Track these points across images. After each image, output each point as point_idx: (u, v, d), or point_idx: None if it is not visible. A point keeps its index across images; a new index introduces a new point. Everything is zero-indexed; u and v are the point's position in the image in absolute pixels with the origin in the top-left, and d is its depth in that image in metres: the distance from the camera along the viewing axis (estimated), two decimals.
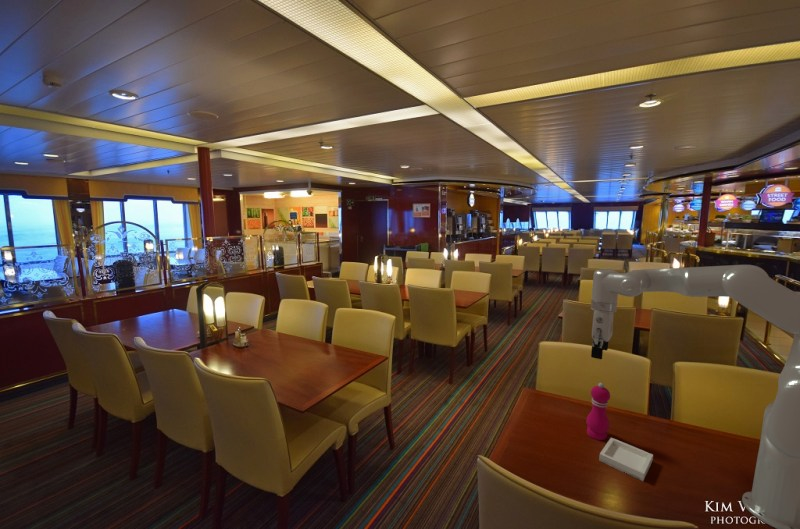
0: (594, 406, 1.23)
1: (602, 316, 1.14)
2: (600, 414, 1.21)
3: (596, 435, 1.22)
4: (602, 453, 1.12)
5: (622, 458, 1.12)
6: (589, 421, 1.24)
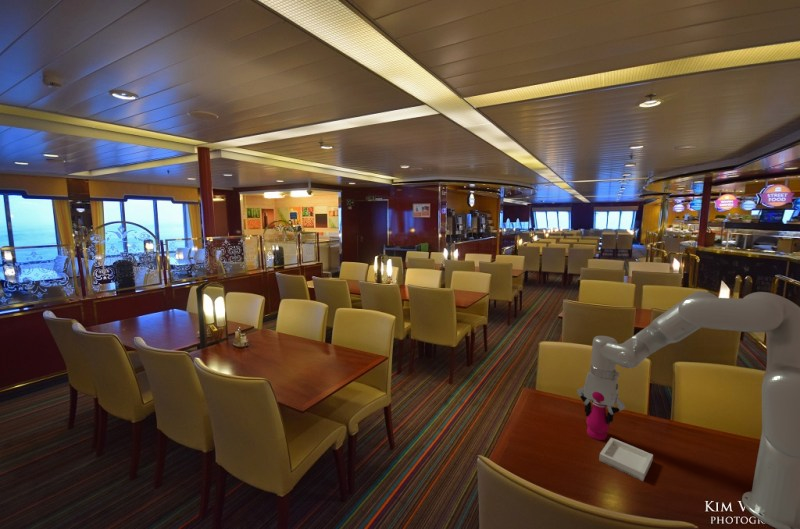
0: (594, 406, 1.23)
1: (617, 382, 1.19)
2: (600, 414, 1.21)
3: (596, 435, 1.22)
4: (602, 453, 1.12)
5: (622, 458, 1.12)
6: (589, 421, 1.24)
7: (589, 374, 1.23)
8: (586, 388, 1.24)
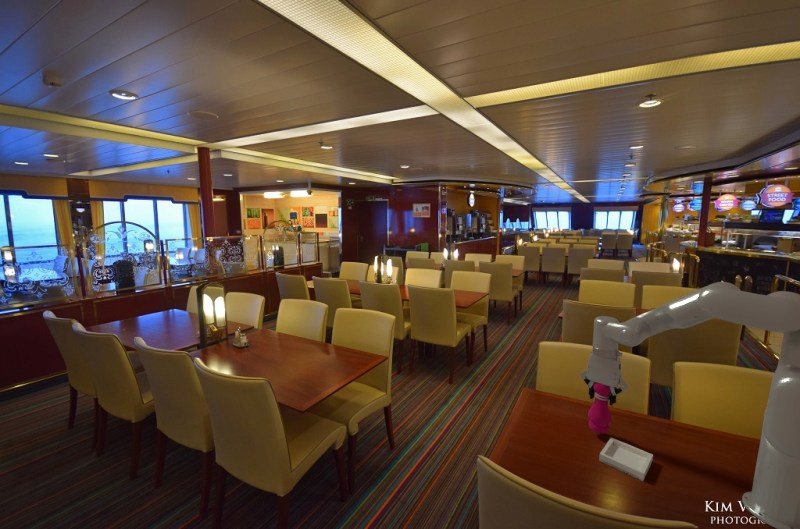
0: (596, 399, 1.22)
1: (620, 362, 1.18)
2: (603, 407, 1.21)
3: (598, 428, 1.22)
4: (602, 453, 1.12)
5: (622, 458, 1.12)
6: (591, 414, 1.23)
7: (591, 355, 1.21)
8: (589, 370, 1.22)
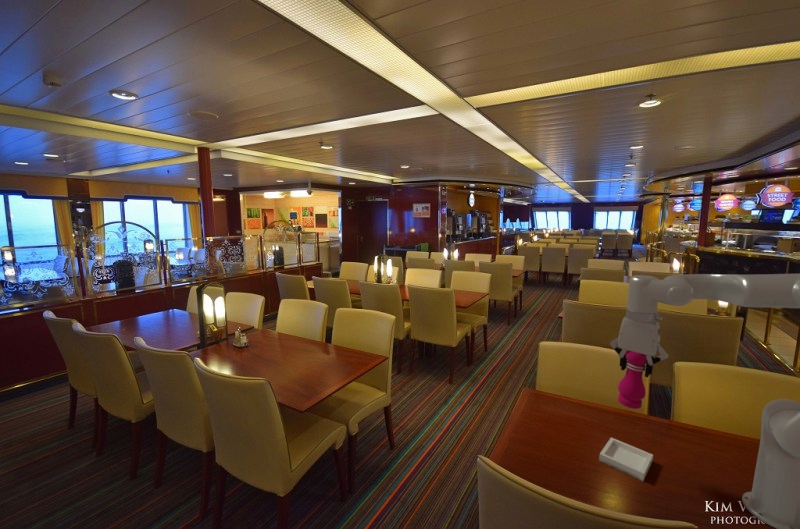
0: (629, 370, 1.07)
1: (659, 327, 1.02)
2: (636, 379, 1.05)
3: (630, 403, 1.06)
4: (602, 453, 1.12)
5: (622, 458, 1.12)
6: (621, 387, 1.08)
7: (625, 320, 1.06)
8: (621, 337, 1.07)
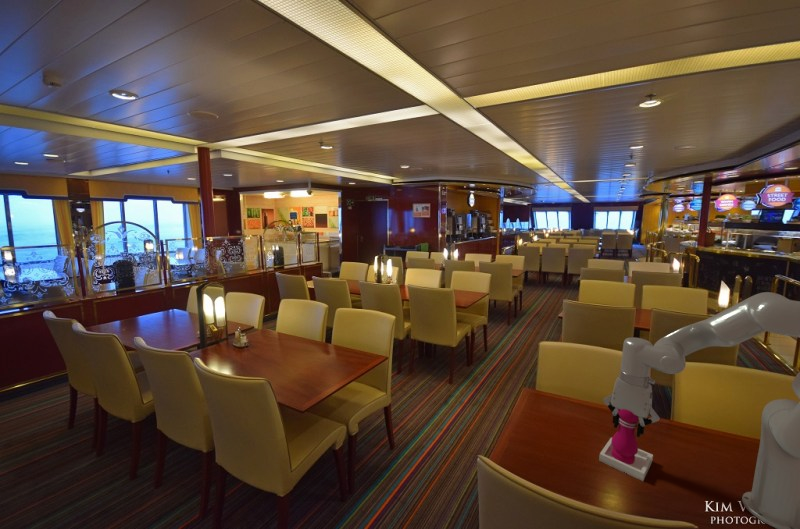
0: (621, 426, 1.10)
1: (651, 390, 1.05)
2: (629, 435, 1.08)
3: (623, 458, 1.09)
4: (602, 453, 1.12)
5: None
6: (615, 442, 1.11)
7: (618, 380, 1.09)
8: (614, 396, 1.10)
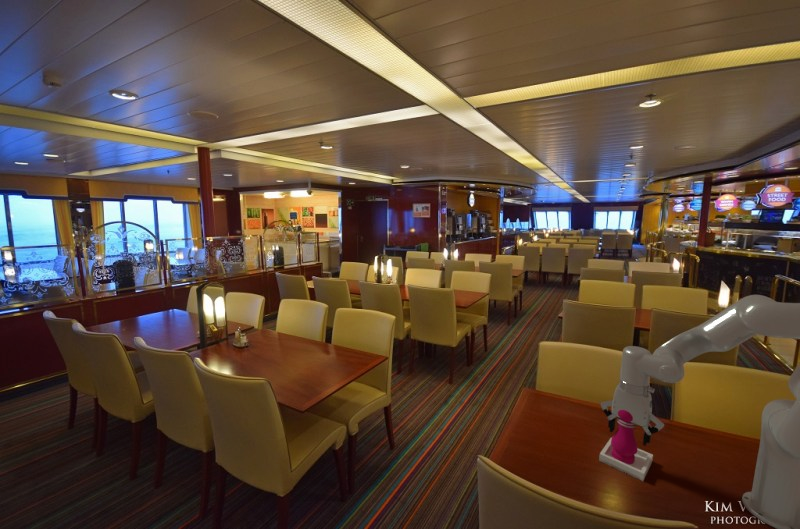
0: (620, 426, 1.10)
1: (651, 398, 1.05)
2: (628, 435, 1.09)
3: (623, 458, 1.09)
4: (602, 453, 1.12)
5: None
6: (614, 442, 1.11)
7: (618, 389, 1.09)
8: (614, 405, 1.10)
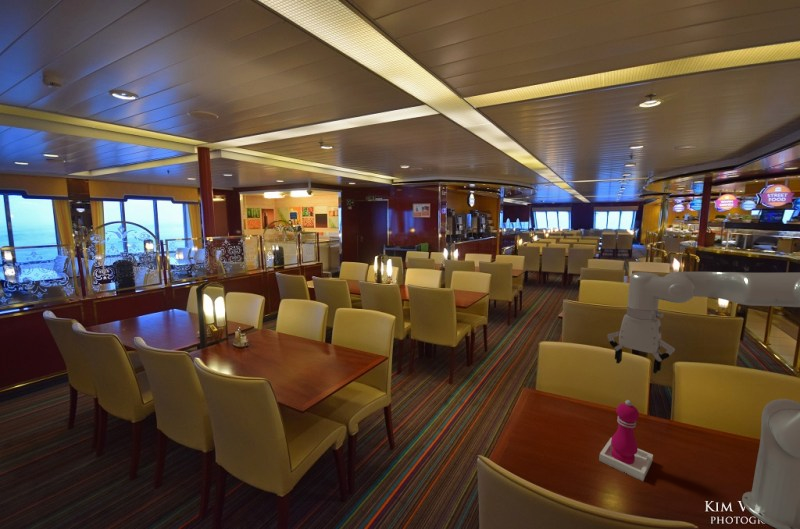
0: (620, 426, 1.10)
1: (660, 324, 1.02)
2: (628, 435, 1.09)
3: (623, 458, 1.09)
4: (602, 453, 1.12)
5: None
6: (614, 442, 1.11)
7: (626, 317, 1.06)
8: (622, 334, 1.07)
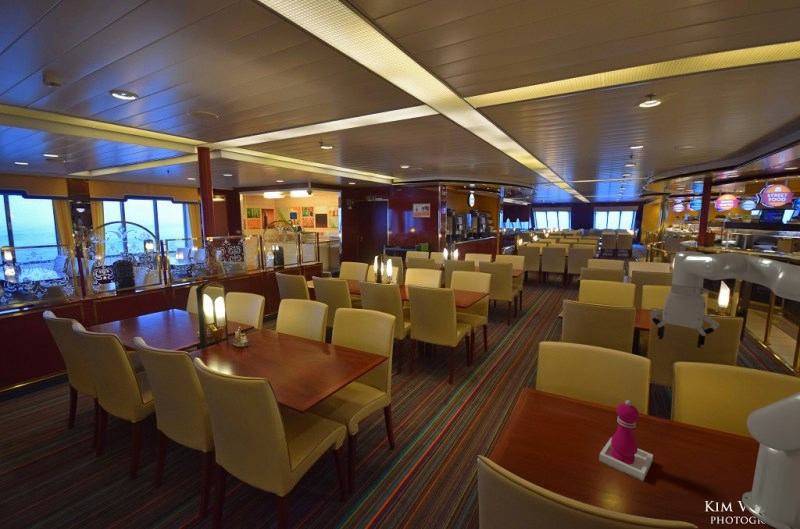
0: (620, 426, 1.10)
1: (704, 300, 1.06)
2: (628, 435, 1.09)
3: (623, 458, 1.09)
4: (602, 453, 1.12)
5: None
6: (614, 442, 1.11)
7: (670, 295, 1.10)
8: (666, 311, 1.11)
